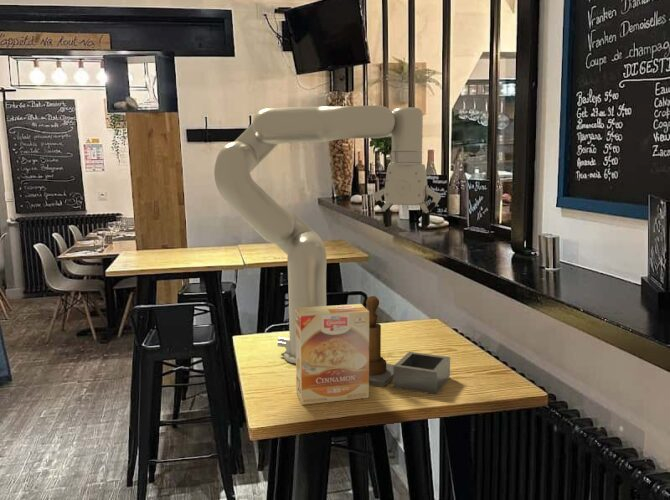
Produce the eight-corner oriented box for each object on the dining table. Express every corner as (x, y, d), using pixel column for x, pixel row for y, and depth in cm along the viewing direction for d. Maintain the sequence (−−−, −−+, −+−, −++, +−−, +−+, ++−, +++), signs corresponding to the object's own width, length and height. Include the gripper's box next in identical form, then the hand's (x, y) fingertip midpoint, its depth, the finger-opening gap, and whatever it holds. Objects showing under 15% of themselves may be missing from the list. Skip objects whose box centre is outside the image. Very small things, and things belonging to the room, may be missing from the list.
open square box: (393, 387, 141) (393, 366, 140) (409, 371, 150) (409, 351, 150) (436, 394, 136) (437, 372, 136) (449, 377, 146) (450, 357, 145)
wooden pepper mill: (363, 376, 144) (363, 300, 142) (354, 367, 151) (354, 294, 148) (390, 373, 146) (390, 298, 143) (381, 364, 152) (381, 292, 150)
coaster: (343, 380, 145) (343, 376, 145) (363, 364, 156) (363, 360, 156) (384, 386, 141) (384, 382, 141) (401, 369, 152) (401, 365, 152)
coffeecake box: (301, 405, 131) (300, 315, 128) (295, 393, 138) (294, 307, 135) (370, 398, 135) (370, 310, 131) (361, 386, 141) (361, 302, 138)
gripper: (368, 159, 155) (368, 227, 158) (436, 159, 148) (435, 231, 150) (379, 158, 162) (379, 224, 164) (445, 158, 154) (443, 227, 157)
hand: (406, 227), depth 157 cm, fingers open, 9 cm apart
